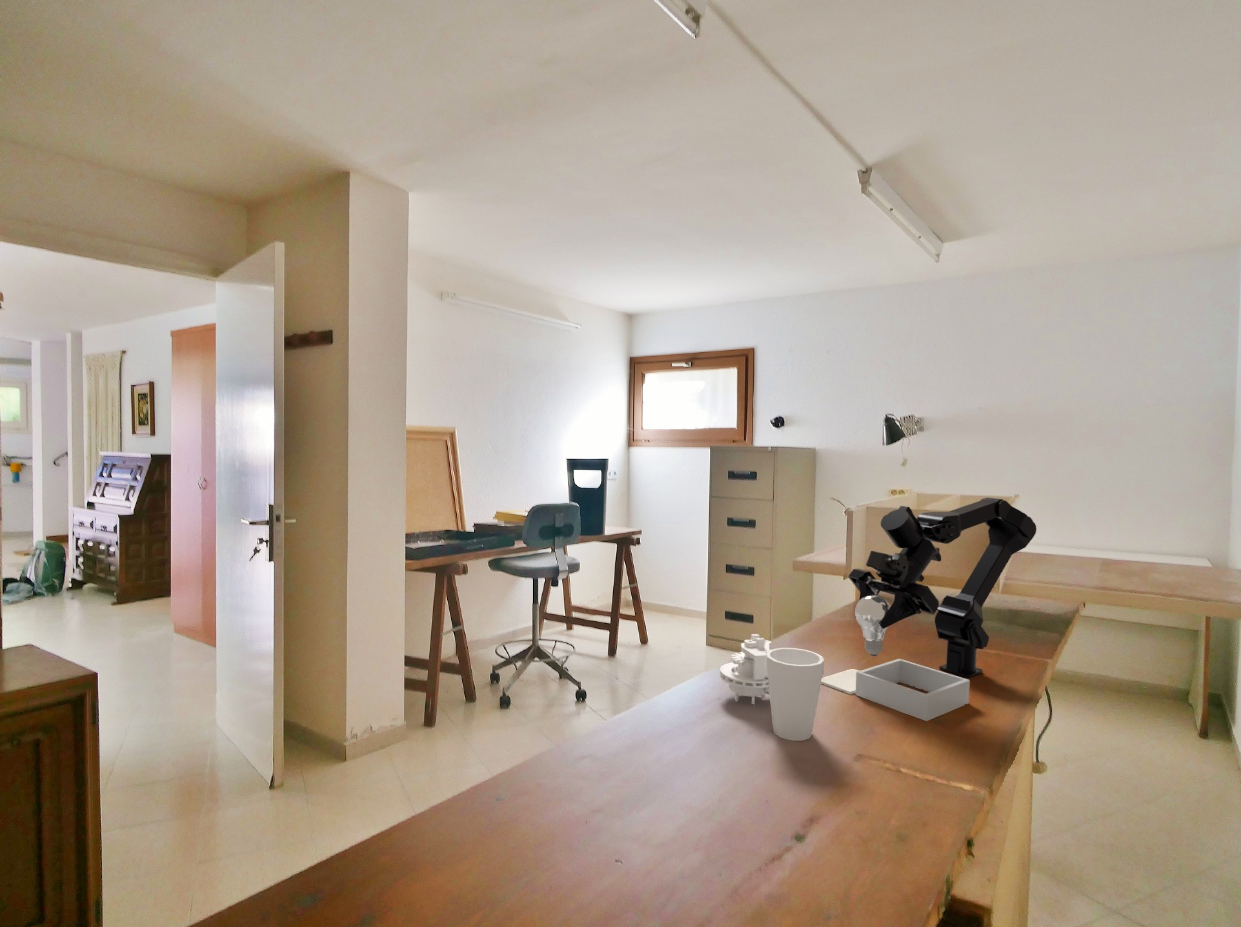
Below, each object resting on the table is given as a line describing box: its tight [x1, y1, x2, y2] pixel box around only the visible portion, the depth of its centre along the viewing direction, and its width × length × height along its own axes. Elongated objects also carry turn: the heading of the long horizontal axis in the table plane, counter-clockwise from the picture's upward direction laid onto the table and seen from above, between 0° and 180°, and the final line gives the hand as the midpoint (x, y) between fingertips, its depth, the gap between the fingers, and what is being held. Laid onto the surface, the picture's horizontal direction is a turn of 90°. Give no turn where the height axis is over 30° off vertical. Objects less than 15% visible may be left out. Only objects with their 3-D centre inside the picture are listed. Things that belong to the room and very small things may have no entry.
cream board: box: [821, 668, 860, 695], centre depth 142 cm, size 12×8×1 cm, turn 126°
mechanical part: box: [719, 633, 772, 706], centre depth 132 cm, size 11×12×12 cm
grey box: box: [854, 658, 971, 722], centre depth 133 cm, size 15×15×4 cm
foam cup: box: [766, 647, 825, 742], centre depth 117 cm, size 10×9×13 cm
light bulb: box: [854, 595, 891, 657], centre depth 138 cm, size 7×7×12 cm
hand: (868, 622), depth 137 cm, fingers closed on light bulb, 6 cm apart
